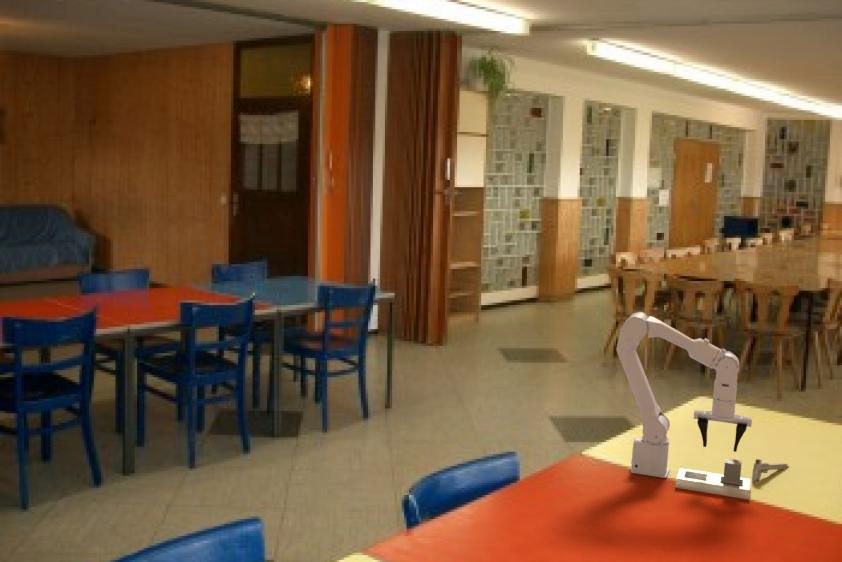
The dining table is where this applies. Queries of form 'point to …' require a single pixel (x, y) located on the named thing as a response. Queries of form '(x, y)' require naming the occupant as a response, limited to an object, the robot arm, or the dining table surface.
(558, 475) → the dining table surface
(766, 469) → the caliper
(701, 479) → the white slotted board
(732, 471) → the peg
